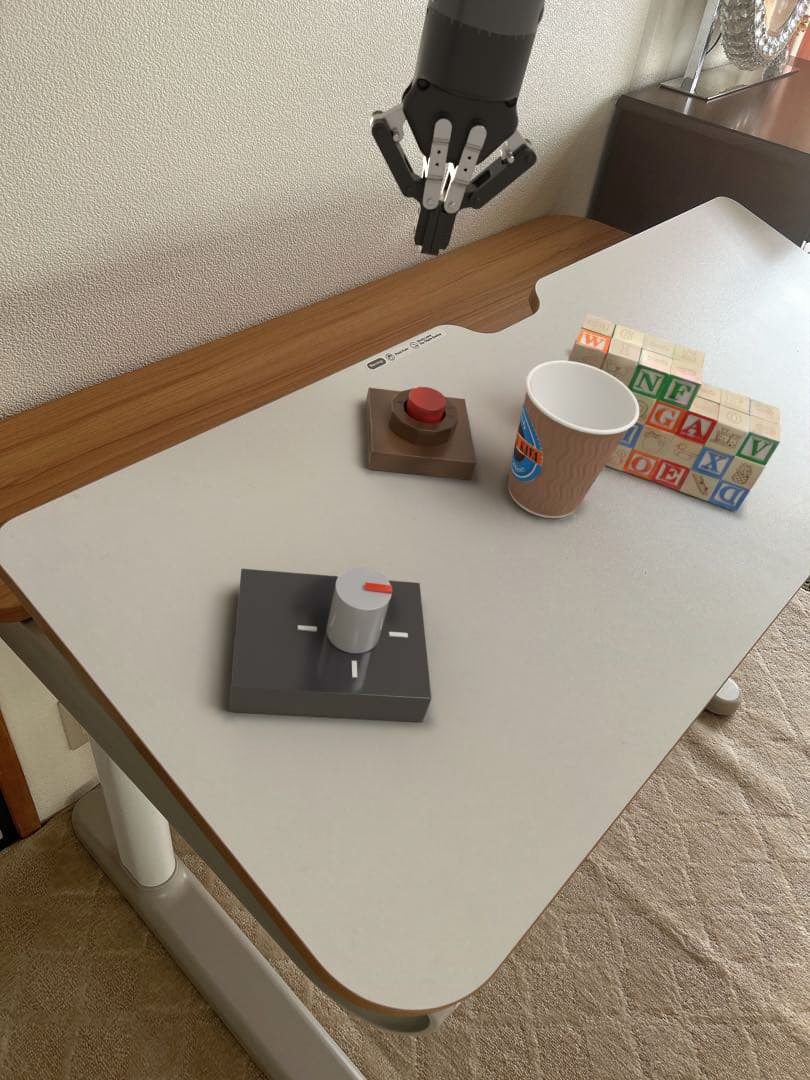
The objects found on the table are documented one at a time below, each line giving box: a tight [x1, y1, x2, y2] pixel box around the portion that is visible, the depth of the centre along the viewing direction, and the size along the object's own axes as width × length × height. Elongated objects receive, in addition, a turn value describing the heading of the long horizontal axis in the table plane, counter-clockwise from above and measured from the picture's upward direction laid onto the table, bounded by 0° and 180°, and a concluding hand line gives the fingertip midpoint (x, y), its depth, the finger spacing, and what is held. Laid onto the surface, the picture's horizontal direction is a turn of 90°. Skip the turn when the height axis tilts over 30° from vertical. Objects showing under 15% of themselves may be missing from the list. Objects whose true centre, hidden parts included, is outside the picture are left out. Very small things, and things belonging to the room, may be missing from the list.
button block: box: [364, 387, 478, 481], centre depth 86 cm, size 10×10×4 cm
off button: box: [406, 386, 446, 424], centre depth 85 cm, size 4×4×2 cm
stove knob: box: [326, 566, 392, 653], centre depth 64 cm, size 4×4×5 cm
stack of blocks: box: [567, 313, 781, 512], centre depth 88 cm, size 21×6×12 cm, turn 71°
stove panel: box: [228, 568, 432, 723], centre depth 66 cm, size 14×11×3 cm
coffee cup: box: [508, 360, 639, 519], centre depth 81 cm, size 10×10×12 cm
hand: (427, 249), depth 71 cm, fingers closed
